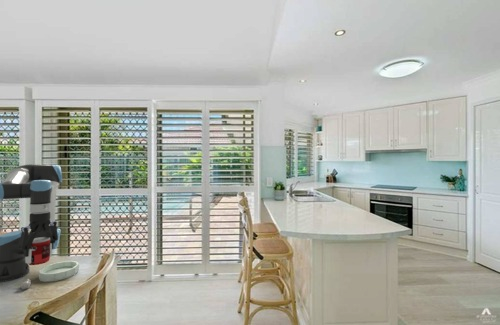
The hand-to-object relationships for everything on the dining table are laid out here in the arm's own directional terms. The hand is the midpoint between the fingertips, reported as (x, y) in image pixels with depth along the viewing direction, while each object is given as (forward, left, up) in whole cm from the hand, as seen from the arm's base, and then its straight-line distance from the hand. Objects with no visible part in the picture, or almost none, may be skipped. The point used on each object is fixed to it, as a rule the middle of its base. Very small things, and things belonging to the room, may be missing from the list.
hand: (38, 259), depth 113 cm
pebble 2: (-9, 0, -16) cm, 18 cm away
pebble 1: (-12, +2, -16) cm, 20 cm away
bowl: (-10, +16, -16) cm, 24 cm away
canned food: (0, 0, -2) cm, 2 cm away
